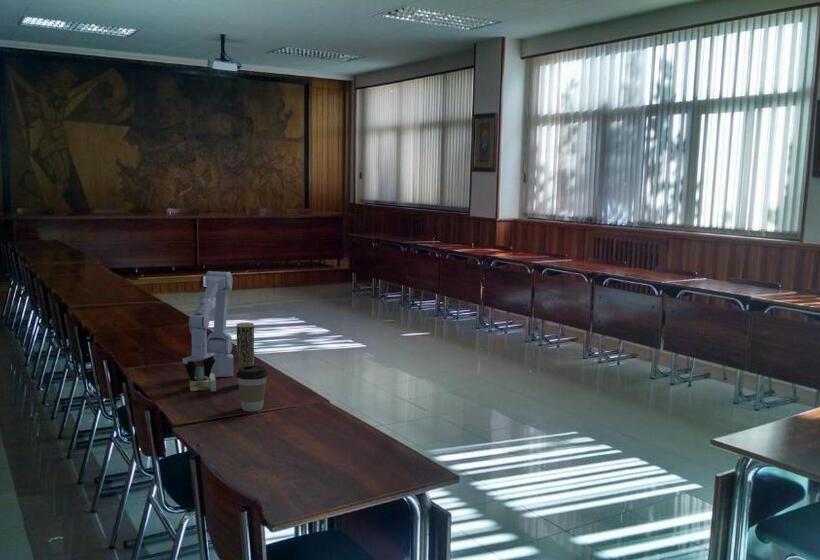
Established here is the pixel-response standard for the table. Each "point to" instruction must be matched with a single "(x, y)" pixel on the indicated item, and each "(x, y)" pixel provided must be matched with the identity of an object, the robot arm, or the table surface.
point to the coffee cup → (252, 387)
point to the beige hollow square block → (200, 384)
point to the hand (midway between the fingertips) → (199, 378)
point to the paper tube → (245, 345)
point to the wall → (212, 382)
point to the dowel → (200, 373)
